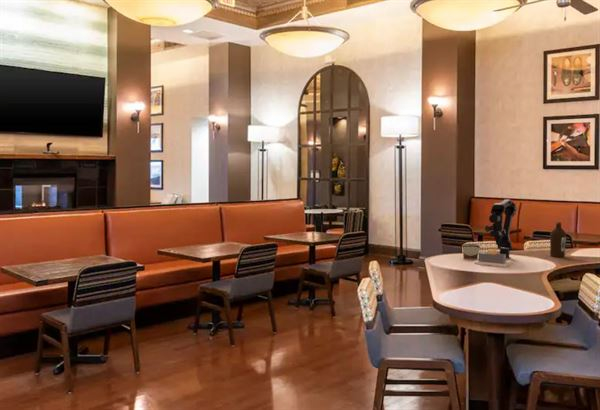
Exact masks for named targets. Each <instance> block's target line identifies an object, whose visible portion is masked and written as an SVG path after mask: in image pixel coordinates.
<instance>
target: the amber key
mask: <svg viewBox="0 0 600 410" xmlns="http://www.w3.org/2000/svg"><path fill="white" fill-rule="evenodd" d="M487 253H488V254H498V250H497V249H491V248H490V249H487Z"/></svg>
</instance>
